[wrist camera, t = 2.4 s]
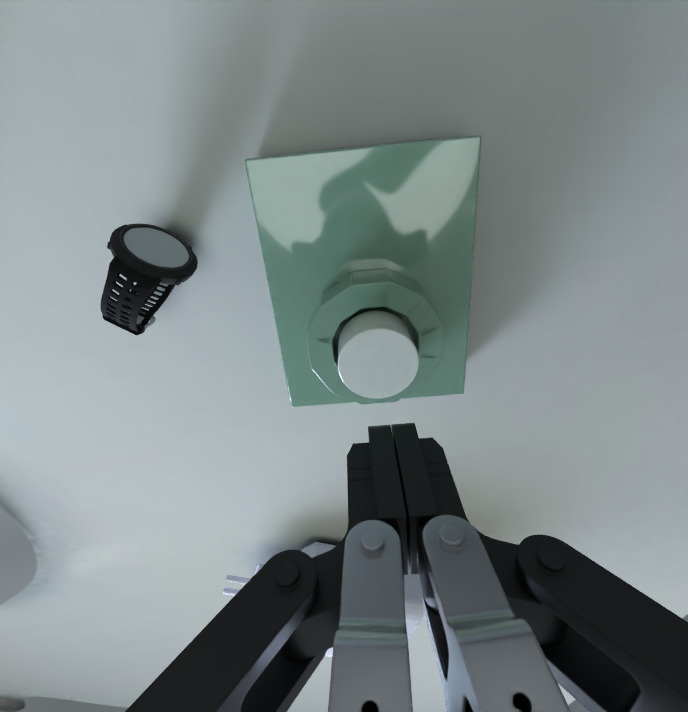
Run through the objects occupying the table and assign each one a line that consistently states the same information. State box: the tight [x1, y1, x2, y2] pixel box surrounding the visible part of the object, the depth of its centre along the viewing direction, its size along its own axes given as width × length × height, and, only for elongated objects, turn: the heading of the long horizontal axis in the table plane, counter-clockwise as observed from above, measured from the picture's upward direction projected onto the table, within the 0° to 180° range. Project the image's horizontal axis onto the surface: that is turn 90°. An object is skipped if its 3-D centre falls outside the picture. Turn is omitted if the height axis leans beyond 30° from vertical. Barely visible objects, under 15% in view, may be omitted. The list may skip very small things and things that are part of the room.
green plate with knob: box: [245, 135, 481, 407], centre depth 20 cm, size 13×10×4 cm
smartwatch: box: [101, 224, 198, 335], centre depth 19 cm, size 4×5×5 cm
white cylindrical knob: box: [338, 311, 419, 399], centre depth 18 cm, size 4×4×2 cm
